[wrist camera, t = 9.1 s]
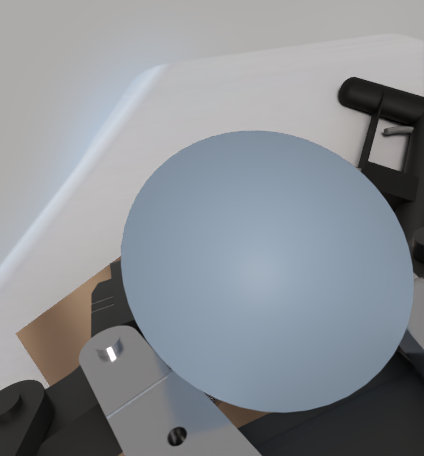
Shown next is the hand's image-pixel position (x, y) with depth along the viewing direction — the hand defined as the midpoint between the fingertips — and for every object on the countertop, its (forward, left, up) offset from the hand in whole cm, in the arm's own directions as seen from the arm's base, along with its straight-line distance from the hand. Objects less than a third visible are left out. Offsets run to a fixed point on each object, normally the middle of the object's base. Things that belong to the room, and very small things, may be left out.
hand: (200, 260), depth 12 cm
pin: (+1, +2, -6) cm, 6 cm away
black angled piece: (-24, -1, -18) cm, 30 cm away
